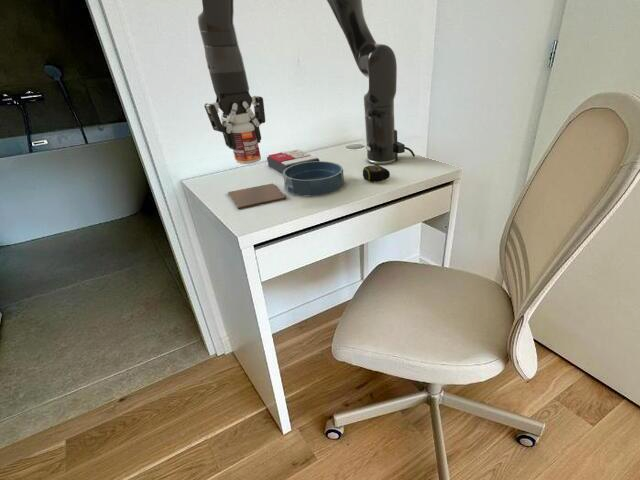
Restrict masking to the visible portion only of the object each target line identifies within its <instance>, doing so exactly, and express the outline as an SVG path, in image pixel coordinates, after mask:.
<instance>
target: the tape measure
mask: <svg viewBox="0 0 640 480" xmlns="http://www.w3.org/2000/svg"><path fill="white" fill-rule="evenodd" d="M362 177H363V180H364V181H367V182H370V183H380V182H384V181H385V180H388V179H389V178H390V177H391V172H390V170H389V169H387V168H385V167H383V166H381V165H380V164H372V165H367V166H366V165H365V166H364V167H363V169H362Z"/></svg>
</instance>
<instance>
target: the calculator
mask: <svg viewBox="0 0 640 480" xmlns="http://www.w3.org/2000/svg"><path fill="white" fill-rule="evenodd" d="M266 160H267V165H268V167H269V168H271V169H273V170H275V171H277V172H279V173H281V174H282V175H283V171H284V170H285V169H286V168H288V167H290V166H292V165H295V164H299V163H304V162H313V161H320V158H318V157H316V156H314V155H312V154H311V153H307V152H306V151H302V150H300V149H293V150H287V151H284V152H278V153H273V154H268V156H266Z"/></svg>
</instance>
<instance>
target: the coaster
mask: <svg viewBox="0 0 640 480" xmlns="http://www.w3.org/2000/svg"><path fill="white" fill-rule="evenodd" d="M227 193H228V195H229V197H230V199H231V200H232V201H233V203H234V204H235V205H236V207H237V209H238V210H242V209H243V210H244V209H247V208H251V207H256V206H261V205H266V204H270V203H275V202H279V201H284V200H287V197H286V195H284V194H283V192H282V191H281V190H280V189H279V188H278V187H277V186H275V184H274V183H273V182H272V183H267V184H263V185H262V184H261V185H256V186H252V187H247V188H242V189H237V190H233V191H228V192H227Z"/></svg>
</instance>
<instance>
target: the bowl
mask: <svg viewBox="0 0 640 480" xmlns="http://www.w3.org/2000/svg"><path fill="white" fill-rule="evenodd" d="M282 177H283V182H284V188H285V190H286V191H287V192H288V193H290V194H293V195H295V196H296V195H297V196H302V197H303V196H305V197H314V196H315V197H316V196H323V195H328V194H331V193H334V192H337V191H339V190H341V189H342V188H344V185H345V175H344V168H343V166H342V165H340V164H339V163H336V162H332V161H325V160H324V161H323V160H319V161H313V162H304V163H299V164H295V165H292V166H290V167H288V168H286V169H285V170H284V171H283V174H282Z"/></svg>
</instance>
